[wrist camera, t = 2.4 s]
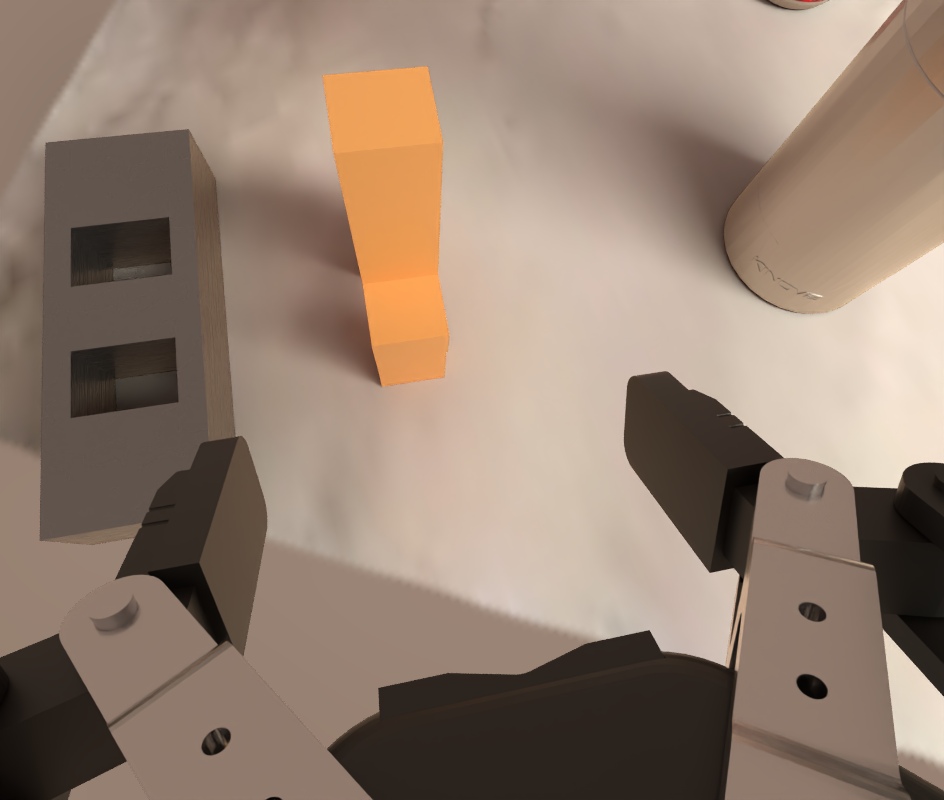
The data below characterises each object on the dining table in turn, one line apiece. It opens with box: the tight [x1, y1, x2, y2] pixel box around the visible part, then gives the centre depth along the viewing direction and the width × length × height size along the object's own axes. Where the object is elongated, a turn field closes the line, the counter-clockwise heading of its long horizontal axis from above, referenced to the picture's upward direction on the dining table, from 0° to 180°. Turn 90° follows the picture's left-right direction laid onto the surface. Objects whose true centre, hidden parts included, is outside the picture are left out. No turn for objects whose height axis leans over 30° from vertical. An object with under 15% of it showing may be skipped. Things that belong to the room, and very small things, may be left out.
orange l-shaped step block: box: [323, 66, 449, 386], centre depth 26 cm, size 9×3×15 cm, turn 10°
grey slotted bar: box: [40, 129, 235, 545], centre depth 29 cm, size 20×7×4 cm, turn 10°
